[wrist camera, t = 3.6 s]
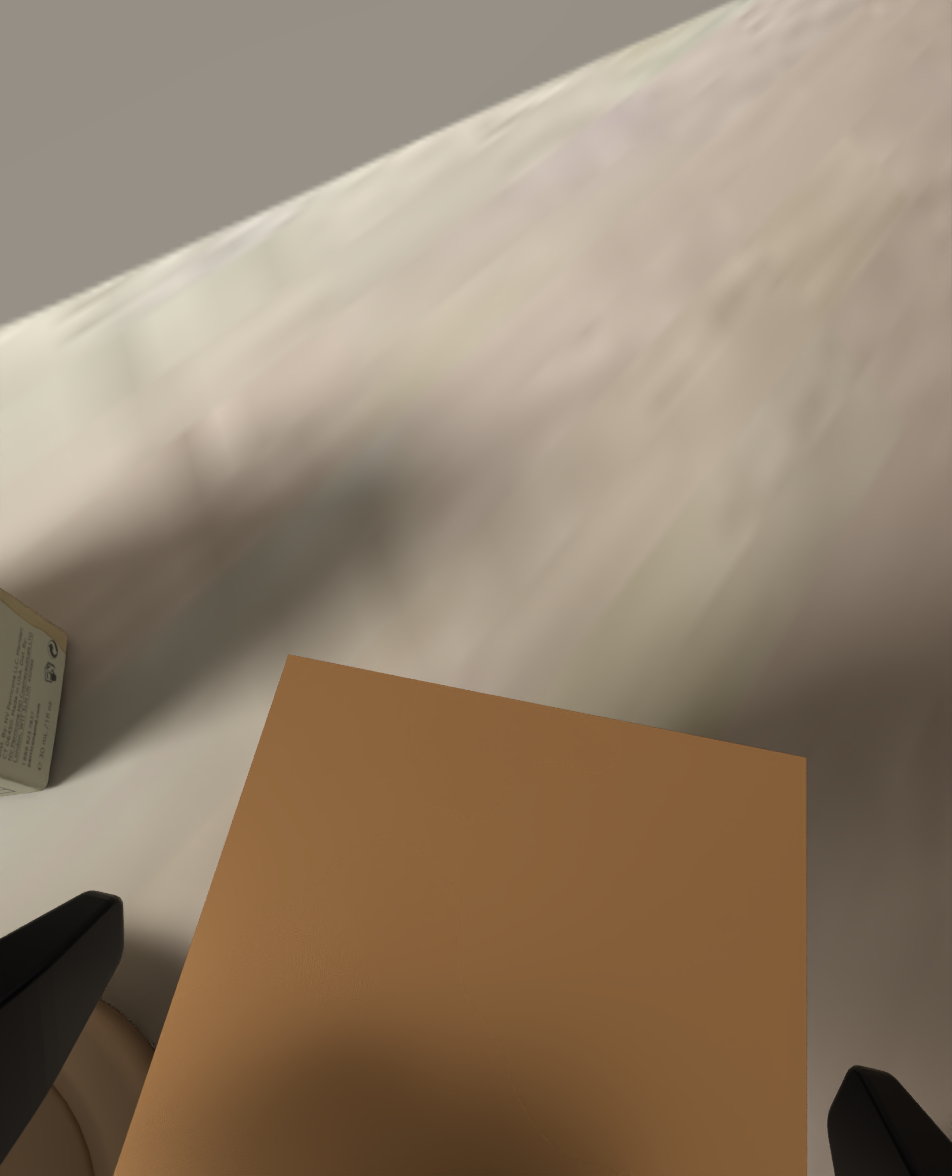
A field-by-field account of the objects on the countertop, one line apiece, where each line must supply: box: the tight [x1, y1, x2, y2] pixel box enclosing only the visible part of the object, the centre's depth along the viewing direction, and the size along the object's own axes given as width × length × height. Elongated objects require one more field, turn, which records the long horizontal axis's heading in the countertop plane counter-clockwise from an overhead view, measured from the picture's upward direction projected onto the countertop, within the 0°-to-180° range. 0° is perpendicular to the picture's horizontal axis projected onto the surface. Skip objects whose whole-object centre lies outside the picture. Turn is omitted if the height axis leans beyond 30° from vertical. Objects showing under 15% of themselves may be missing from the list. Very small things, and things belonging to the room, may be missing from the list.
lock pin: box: [113, 654, 807, 1176], centre depth 10 cm, size 4×4×13 cm
